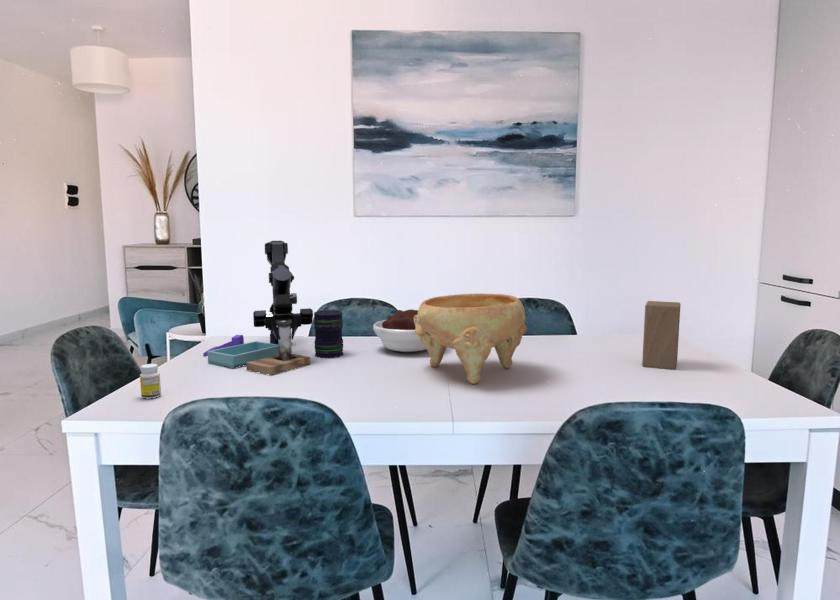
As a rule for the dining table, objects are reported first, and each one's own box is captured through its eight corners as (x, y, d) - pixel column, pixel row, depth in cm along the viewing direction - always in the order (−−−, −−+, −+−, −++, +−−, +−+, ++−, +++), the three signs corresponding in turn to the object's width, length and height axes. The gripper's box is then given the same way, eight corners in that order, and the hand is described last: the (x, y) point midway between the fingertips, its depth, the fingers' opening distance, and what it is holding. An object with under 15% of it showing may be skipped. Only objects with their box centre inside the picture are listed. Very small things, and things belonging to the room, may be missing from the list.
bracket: (244, 353, 203) (243, 334, 203) (238, 357, 197) (237, 337, 196) (210, 353, 203) (209, 334, 202) (203, 357, 196) (202, 337, 196)
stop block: (286, 360, 191) (286, 352, 191) (310, 364, 185) (310, 356, 184) (246, 370, 177) (246, 362, 177) (270, 375, 171) (270, 367, 171)
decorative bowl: (462, 353, 200) (463, 288, 197) (548, 371, 176) (550, 297, 173) (389, 370, 177) (389, 297, 174) (476, 394, 152) (477, 308, 149)
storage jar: (309, 356, 196) (307, 313, 194) (324, 351, 205) (323, 309, 203) (334, 359, 192) (333, 315, 190) (348, 353, 201) (347, 311, 199)
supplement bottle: (145, 394, 153) (143, 363, 152) (163, 393, 153) (162, 363, 152) (138, 399, 148) (136, 367, 147) (157, 399, 148) (155, 367, 147)
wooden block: (677, 363, 186) (680, 302, 183) (676, 370, 177) (680, 306, 174) (644, 360, 190) (647, 300, 187) (642, 367, 181) (645, 304, 178)
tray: (256, 352, 203) (256, 341, 203) (282, 356, 196) (281, 345, 195) (208, 363, 187) (207, 351, 186) (233, 368, 179) (233, 356, 179)
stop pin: (286, 357, 187) (284, 318, 185) (297, 359, 184) (295, 319, 182) (273, 360, 182) (272, 320, 181) (284, 362, 180) (283, 322, 178)
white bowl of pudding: (361, 354, 199) (361, 311, 197) (389, 341, 222) (389, 302, 220) (429, 360, 190) (429, 315, 188) (451, 345, 214) (451, 305, 212)
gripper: (252, 285, 181) (253, 326, 172) (311, 283, 186) (316, 322, 177) (252, 306, 190) (254, 346, 181) (309, 304, 195) (314, 342, 186)
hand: (285, 339), depth 181 cm, fingers closed on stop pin, 4 cm apart
